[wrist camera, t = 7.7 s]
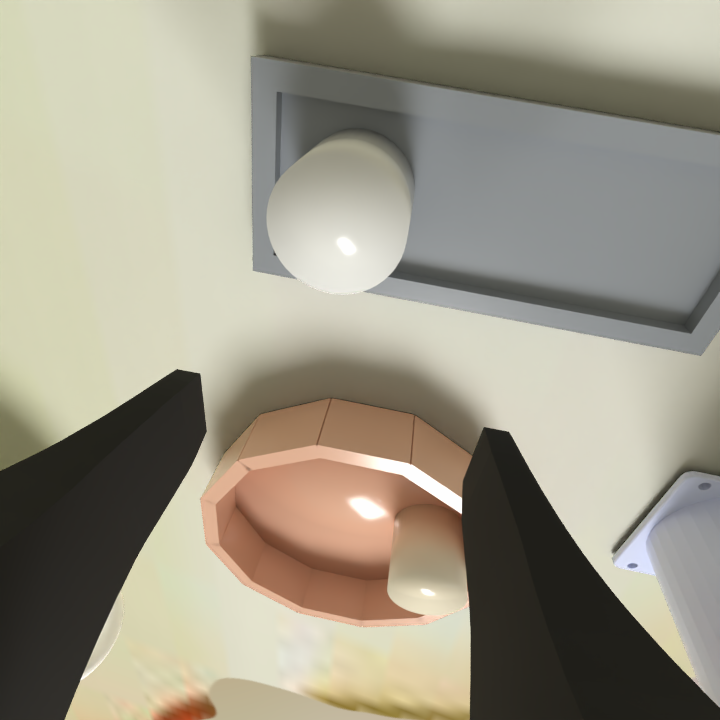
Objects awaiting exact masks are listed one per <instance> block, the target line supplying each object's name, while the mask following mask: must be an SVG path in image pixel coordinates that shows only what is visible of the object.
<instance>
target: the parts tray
mask: <svg viewBox="0 0 720 720" xmlns="http://www.w3.org/2000/svg"><path fill="white" fill-rule="evenodd" d="M251 97H252V215H253V271H257V272H262V273H267V274H272V275H278V276H283V277H288V278H294V279H297V278H296V277H294V276H293V275H292V274H291V273H290V272H289V271H288V270H287V269H286V268H285V267H284V265H283V264H282V263H281V261H280V260H279V258H278V257H277V255H276V253H275V251H274V249H273V247H272V245H271V242H270V238H269V235H268V230H267V218H266V217H267V206H268V202H269V198H270V195H271V192H272V190H273V188H274V186H275V184H276V182H277V181H278V180H279V178H280V177H281V176H282V175H283V174H284V173H285V172H286V171H287V170H288V168H290V167H291V166H292V165H293V164H294V163H296V162H297V161H298V160H299V159H300V158H302V157H303V156H304V155H305V154H306V153H308V152H309V151H310V150H311V149H312V148H314V147H315V146H316V145H317V144H318V143H320V142H321V141H322V140H323V139H325V138H326V137H327V136H329V135H331V134H333V133H335V132H338V131H340V130H344V129H349V128H362V129H368V130H372V131H375V132H377V133H380V134H382V135H384V136H385V137H387V138H388V139H390V140H391V141H392V142H394V143H395V144H396V145H397V146H398V147H399V148H400V150H401V151H402V152H403V154H404V155H405V157H406V159H407V160H408V162H409V164H410V167H411V169H412V173H413V177H414V183H415V196H414V203H413V209H412V214H411V220H410V225H409V231H408V237H407V242H406V246H405V250H404V253H403V255H402V258H401V260H400V262H399V263H398V265H397V267H396V268H395V269H394V271H393V272H392V273H391V274H390V275H389V276H388V277H387V278H386V279H385V280H384V281H382V282H381V283H380V284H378V285H376V286H375V287H373V288H371V289H368V290H366V291H363V292H367V293H373V294H378V295H383V296H388V297H394V298H399V299H404V300H409V301H415V302H420V303H425V304H431V305H436V306H441V307H446V308H452V309H457V310H462V311H467V312H473V313H478V314H483V315H489V316H494V317H499V318H504V319H510V320H515V321H520V322H525V323H531V324H536V325H541V326H546V327H552V328H557V329H562V330H568V331H573V332H578V333H583V334H589V335H594V336H599V337H604V338H610V339H615V340H620V341H626V342H631V343H636V344H641V345H647V346H652V347H657V348H662V349H668V350H673V351H678V352H683V353H689V354H694V355H699V356H701V355H702V354H703V352H704V351H705V350H706V348H707V347H708V345H709V344H710V342H711V341H712V340H713V338H714V337H715V335H716V334H717V333H718V331H719V330H720V132H718V131H712V130H706V129H700V128H694V127H688V126H682V125H676V124H670V123H664V122H658V121H652V120H646V119H640V118H634V117H628V116H623V115H617V114H611V113H605V112H599V111H593V110H587V109H581V108H575V107H569V106H563V105H557V104H551V103H545V102H539V101H533V100H528V99H522V98H516V97H510V96H504V95H498V94H492V93H486V92H480V91H474V90H468V89H462V88H456V87H450V86H444V85H438V84H432V83H427V82H421V81H415V80H409V79H403V78H397V77H391V76H385V75H379V74H373V73H367V72H361V71H355V70H349V69H343V68H337V67H331V66H326V65H320V64H314V63H308V62H302V61H296V60H290V59H284V58H278V57H272V56H266V55H260V56H251Z"/></svg>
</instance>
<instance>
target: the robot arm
mask: <svg viewBox="0 0 720 720" xmlns="http://www.w3.org/2000/svg"><path fill="white" fill-rule="evenodd" d="M206 432H207V430H206V421H205V412H204V403H203V394H202V385H201V376H200V374H199V373H194V372H189V371H183V370H178V369H177V370H175V371H174V372H172V373H170V374H169V375H167V376H166V377H164V378H162V379H161V380H159V381H158V382H156V383H155V384H153V385H152V386H150V387H149V388H147V389H146V390H144V391H143V392H141V393H139V394H138V395H136V396H135V397H133V398H132V399H130V400H129V401H127V402H125V403H124V404H122V405H121V406H119V407H117V408H116V409H114V410H113V411H111V412H110V413H108V414H106V415H105V416H103V417H101V418H100V419H98V420H96V421H95V422H93V423H91V424H89V425H88V426H86V427H84V428H82V429H81V430H79V431H77V432H75V433H74V434H72V435H70V436H69V437H67V438H65V439H63V440H62V441H60V442H58V443H56V444H54V445H52V446H50V447H49V448H47V449H45V450H43V451H41V452H39V453H37V454H35V455H33V456H31V457H29V458H27V459H25V460H23V461H21V462H18V463H16V464H14V465H12V466H10V467H8V468H6V469H4V470H2V471H0V720H65V717H66V714H67V712H68V709H69V707H70V704H71V702H72V699H73V697H74V694H75V692H76V689H77V687H78V685H79V682H80V680H81V678H82V675H83V673H84V671H85V668H86V666H87V664H88V661H89V659H90V657H91V654H92V652H93V650H94V647H95V645H96V643H97V640H98V638H99V636H100V634H101V632H102V629H103V627H104V625H105V623H106V621H107V618H108V616H109V614H110V612H111V610H112V607H113V605H114V603H115V601H116V599H117V597H118V595H119V592H120V590H121V588H122V586H123V584H124V582H125V580H126V578H127V576H128V574H129V572H130V570H131V568H132V566H133V564H134V562H135V560H136V558H137V556H138V554H139V552H140V551H141V549H142V547H143V545H144V543H145V542H146V540H147V538H148V537H149V535H150V533H151V532H152V530H153V529H154V527H155V525H156V524H157V522H158V520H159V519H160V517H161V515H162V514H163V512H164V511H165V509H166V507H167V506H168V504H169V502H170V501H171V499H172V497H173V496H174V494H175V493H176V491H177V489H178V488H179V486H180V484H181V483H182V481H183V479H184V478H185V476H186V474H187V473H188V471H189V469H190V467H191V466H192V463H193V461H194V459H195V457H196V455H197V453H198V450H199V448H200V446H201V443H202V441H203V439H204V436H205V434H206ZM461 520H462V532H463V543H464V555H465V565H466V576H467V587H468V597H469V608H470V626H471V684H470V720H720V476H716V475H711V474H706V473H701V472H696V471H690V472H686V473H683V474H682V475H681V476H680V477H679V478H678V479H677V481H676V482H675V483H674V484H673V485H672V486H671V488H670V489H669V490H668V491H667V492H666V494H665V495H664V496H663V497H662V498H661V500H660V501H659V502H658V503H657V504H656V505H655V507H654V508H653V509H652V510H651V511H650V513H649V514H648V515H647V516H646V517H645V519H644V520H643V521H642V522H641V523H640V524H639V526H638V527H637V528H636V529H635V530H634V532H633V533H632V534H631V535H630V536H629V538H628V539H627V540H626V541H625V542H624V543H623V545H622V546H621V547H620V548H619V549H618V551H617V552H616V553H615V554H614V555H613V557H612V560H613V563H614V565H615V566H616V567H618V568H622V569H626V570H631V571H636V572H640V573H645V574H650V575H655V576H656V577H657V580H658V582H659V585H660V587H661V590H662V592H663V595H664V597H665V600H666V602H667V605H668V607H669V610H670V612H671V615H672V617H673V620H674V622H675V625H676V627H677V630H678V632H679V635H680V638H681V640H682V643H683V645H684V648H685V650H686V653H687V655H688V658H689V660H690V663H691V665H692V668H693V670H694V673H695V675H696V678H697V680H698V683H699V685H700V687H699V686H698V685H697V684H696V683H695V682H694V681H693V680H692V679H691V678H690V677H689V676H688V675H687V674H686V673H685V672H684V671H683V670H682V669H681V668H680V667H679V666H678V665H677V664H676V663H675V662H674V661H673V660H672V659H671V658H670V657H669V656H668V654H667V653H666V652H665V651H664V650H663V649H662V648H661V647H660V646H659V645H658V644H657V643H656V641H655V640H654V639H653V638H652V637H651V636H650V635H649V634H648V632H647V631H646V630H645V629H644V628H643V627H642V626H641V625H640V623H639V622H638V621H637V620H636V619H635V618H634V617H633V616H632V615H631V613H630V612H629V611H628V610H627V609H626V608H625V606H624V605H623V604H622V603H621V602H620V600H619V599H618V598H617V597H616V596H615V594H614V593H613V592H612V591H611V589H610V588H609V587H608V586H607V584H606V583H605V582H604V580H603V579H602V578H601V577H600V575H599V574H598V573H597V572H596V570H595V569H594V568H593V566H592V565H591V564H590V562H589V561H588V560H587V558H586V557H585V555H584V554H583V553H582V551H581V550H580V548H579V547H578V546H577V544H576V543H575V541H574V540H573V538H572V537H571V535H570V534H569V532H568V531H567V529H566V528H565V526H564V525H563V523H562V522H561V520H560V519H559V517H558V516H557V514H556V512H555V511H554V509H553V508H552V506H551V504H550V503H549V501H548V499H547V498H546V496H545V495H544V493H543V491H542V490H541V488H540V486H539V485H538V483H537V481H536V479H535V478H534V476H533V474H532V472H531V471H530V469H529V467H528V465H527V463H526V462H525V460H524V458H523V456H522V454H521V453H520V451H519V449H518V447H517V445H516V443H515V442H514V440H513V438H512V436H511V435H510V433H509V432H507V431H502V430H496V429H491V428H486V427H484V428H483V431H482V433H481V436H480V438H479V441H478V443H477V446H476V448H475V451H474V453H473V456H472V459H471V461H470V464H469V466H468V469H467V471H466V474H465V476H464V479H463V484H462V519H461Z"/></svg>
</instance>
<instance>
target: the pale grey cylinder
mask: <svg viewBox="0 0 720 720" xmlns="http://www.w3.org/2000/svg"><path fill="white" fill-rule="evenodd" d="M414 196H415V183H414V177H413V173H412V169H411V167H410V164H409V162H408V160H407V159H406V157H405V155H404V154H403V152H402V151H401V150H400V148H399V147H398V146H397V145H396V144H395V143H394V142H392V141H391V140H390V139H388V138H387V137H385V136H384V135H382V134H380V133H377V132H375V131H372V130H368V129H362V128H349V129H344V130H340V131H338V132H335V133H333V134H331V135H329V136H327V137H326V138H325V139H323V140H322V141H321V142H320V143H318V144H317V145H316V146H315V147H314V148H312V149H311V150H310V151H309V152H308V153H306V154H305V155H304V156H303V157H302V158H300V159H299V160H298V161H297V162H296V163H294V164H293V165H292V166H291V167H290V168H288V170H287V171H286V172H285V173H284V174H283V175H282V176H281V177H280V178H279V180H278V181H277V182H276V184H275V186H274V188H273V190H272V192H271V195H270V198H269V202H268V206H267V217H266V218H267V230H268V235H269V238H270V242H271V245H272V247H273V249H274V251H275V253H276V255H277V257H278V258H279V260H280V261H281V263H282V264H283V265H284V267H285V268H286V269H287V270H288V271H289V272H290V273H291V274H292V275H293V276H294V277H296V278H297V279H298V280H300V281H301V282H303V283H304V284H306V285H308V286H310V287H312V288H314V289H316V290H319V291H322V292H326V293H330V294H342V295H347V294H355V293H359V292H363V291H366V290H368V289H371V288H373V287H375V286H376V285H378V284H380V283H381V282H382V281H384V280H385V279H386V278H387V277H388V276H389V275H390V274H391V273H392V272H393V271H394V269H395V268H396V267H397V265H398V263H399V262H400V260H401V258H402V255H403V253H404V250H405V246H406V242H407V237H408V231H409V225H410V220H411V214H412V209H413V203H414Z"/></svg>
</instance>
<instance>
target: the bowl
mask: <svg viewBox="0 0 720 720" xmlns="http://www.w3.org/2000/svg"><path fill="white" fill-rule="evenodd" d="M471 459H472V455H471V454H469V453H468V452H466V451H465V450H464V449H462V448H461V447H459V446H458V445H457V444H455V443H454V442H452V441H451V440H450V439H448V438H447V437H445V436H444V435H443V434H441V433H440V432H438V431H437V430H436V429H434V428H433V427H431V426H430V425H429V424H427V423H426V422H424V421H423V420H421V419H420V418H419V417H417V416H416V415H415V416H414V414H409V413H404V412H399V411H394V410H389V409H384V408H379V407H374V406H369V405H364V404H359V403H354V402H349V401H344V400H339V399H334V398H332V400H331V398H329V399H324V400H320V401H316V402H311V403H307V404H302V405H298V406H294V407H289V408H285V409H281V410H276V411H272V412H268V413H263V414H260V415H259V416H258V417H257V418H256V419H255V420H254V421H253V422H252V423H251V425H250V426H249V427H248V428H247V429H246V430H245V431H244V432H243V433H242V434H241V436H240V437H239V438H238V439H237V440H236V441H235V442H234V443H233V444H232V445H231V446H230V448H229V449H228V450H227V451H226V452H225V453H224V455H223V457H222V459H221V461H220V463H219V465H218V466H217V468H216V470H215V472H214V474H213V476H212V478H211V480H210V482H209V483H208V485H207V487H206V489H205V491H204V493H203V495H202V497H201V499H200V500H201V508H202V516H203V524H204V533H205V541H206V545H207V546H208V547H209V548H210V549H211V550H212V551H213V552H214V553H215V555H216V556H217V557H218V558H219V559H220V560H221V561H222V562H223V563H224V564H225V565H226V566H227V568H228V569H229V570H230V571H231V572H232V573H233V574H234V575H235V576H236V577H237V578H238V580H239V581H240V582H241V583H242V584H243V585H245V586H247V587H249V588H251V589H253V590H255V591H257V592H259V593H261V594H263V595H265V596H267V597H269V598H270V599H272V600H274V601H276V602H278V603H280V604H282V605H284V606H286V607H288V608H290V609H292V610H294V611H296V612H299V613H301V614H306V615H310V616H314V617H319V618H323V619H328V620H332V621H337V622H341V623H346V624H350V625H355V626H359V627H362V626H363V627H380V626H404V625H425V624H429V623H431V622H433V621H436V620H438V619H441V618H443V617H445V616H448V615H450V614H447V615H437V616H434V615H423V614H418V613H414V612H411V611H408V610H406V609H403V608H402V607H400V606H398V605H397V604H395V603H394V602H393V601H392V600H391V599H390V597H389V595H388V592H387V586H388V577H389V567H390V558H391V548H392V538H393V529H394V520H395V517H396V515H397V514H398V513H399V512H400V511H401V510H403V509H404V508H406V507H409V506H412V505H417V504H433V505H439V506H442V507H445V508H448V509H450V510H452V511H453V512H455V513H456V514H457V515H458V516H459V517H460V518H461V519H462V484H463V479H464V476H465V474H466V471H467V469H468V466H469V464H470V461H471ZM467 607H469V597H468V587H467V603H466V605H465V606H464V607H463V608H462V609H464V608H467ZM462 609H460V610H462ZM460 610H459V611H460ZM454 613H455V612H454ZM451 614H452V613H451Z"/></svg>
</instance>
